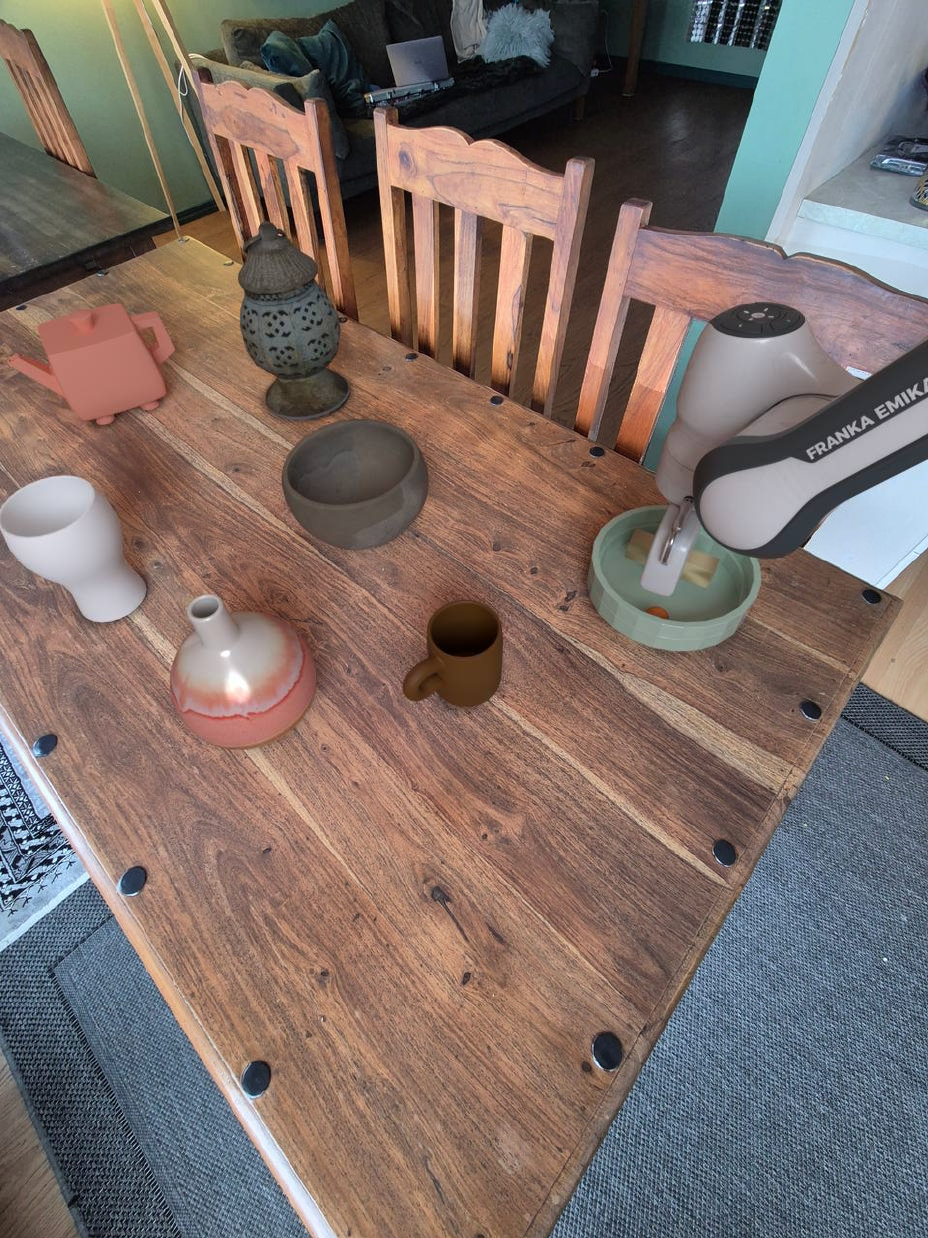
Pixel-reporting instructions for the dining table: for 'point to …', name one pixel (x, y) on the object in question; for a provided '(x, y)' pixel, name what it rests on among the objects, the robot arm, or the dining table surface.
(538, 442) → the dining table surface
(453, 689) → the mug
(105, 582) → the cup
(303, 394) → the lantern
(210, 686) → the vase
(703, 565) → the stick
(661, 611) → the bead
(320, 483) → the bowl
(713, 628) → the bowl
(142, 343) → the teapot
